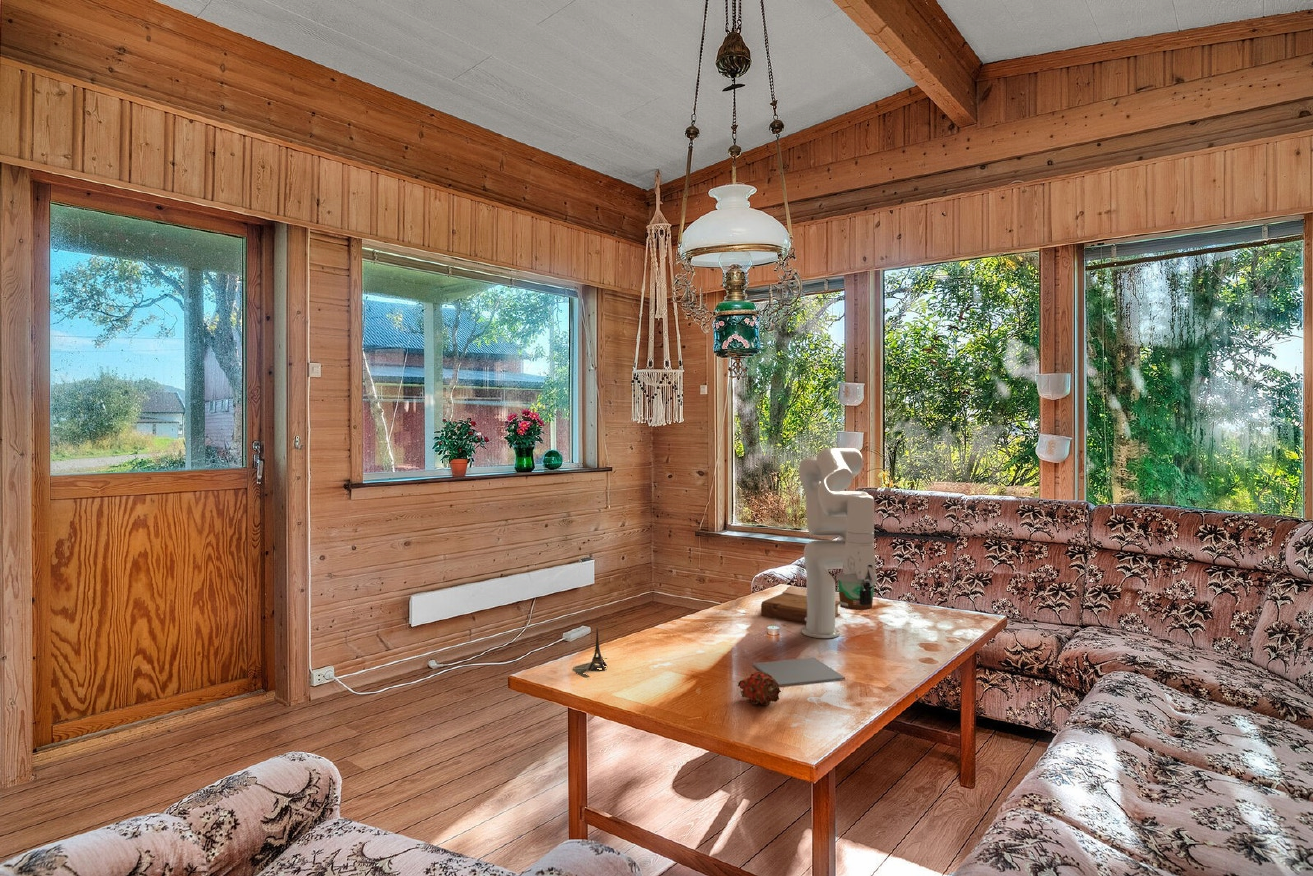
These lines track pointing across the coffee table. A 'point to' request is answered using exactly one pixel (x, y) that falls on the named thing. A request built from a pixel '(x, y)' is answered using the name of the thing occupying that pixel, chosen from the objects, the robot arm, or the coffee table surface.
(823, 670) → the mat
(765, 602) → the brown flat wooden box
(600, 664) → the eiffel tower figurine
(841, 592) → the food container
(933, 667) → the coffee table surface
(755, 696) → the dragon fruit
